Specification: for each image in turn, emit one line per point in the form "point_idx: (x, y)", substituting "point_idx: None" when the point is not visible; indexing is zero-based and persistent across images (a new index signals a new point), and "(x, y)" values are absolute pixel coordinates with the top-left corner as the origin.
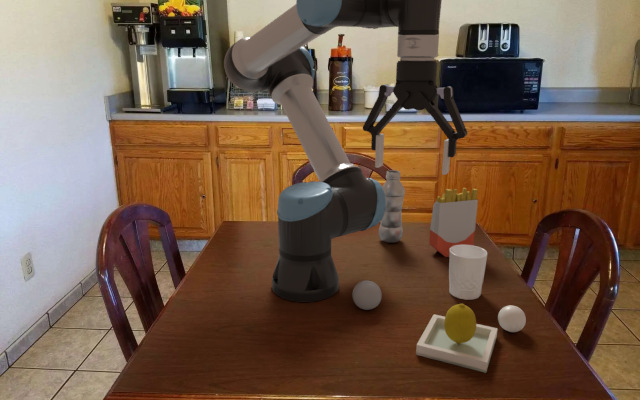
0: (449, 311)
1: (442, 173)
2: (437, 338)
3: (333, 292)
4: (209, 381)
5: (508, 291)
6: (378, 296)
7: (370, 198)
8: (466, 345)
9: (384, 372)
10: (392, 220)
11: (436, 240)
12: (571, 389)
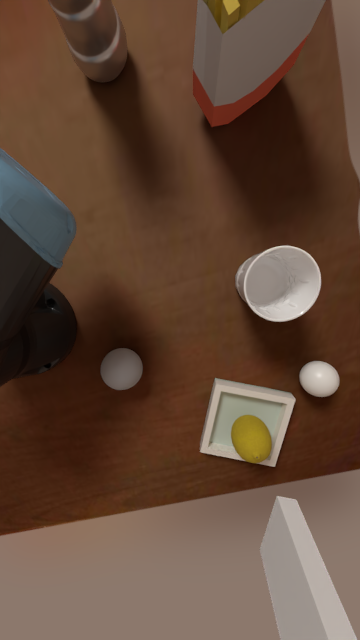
0: (239, 452)
1: (263, 554)
2: (221, 415)
3: (73, 340)
4: (30, 515)
5: (329, 254)
6: (138, 379)
7: (12, 267)
8: None
9: (173, 475)
10: (90, 34)
11: (210, 112)
12: (351, 464)
